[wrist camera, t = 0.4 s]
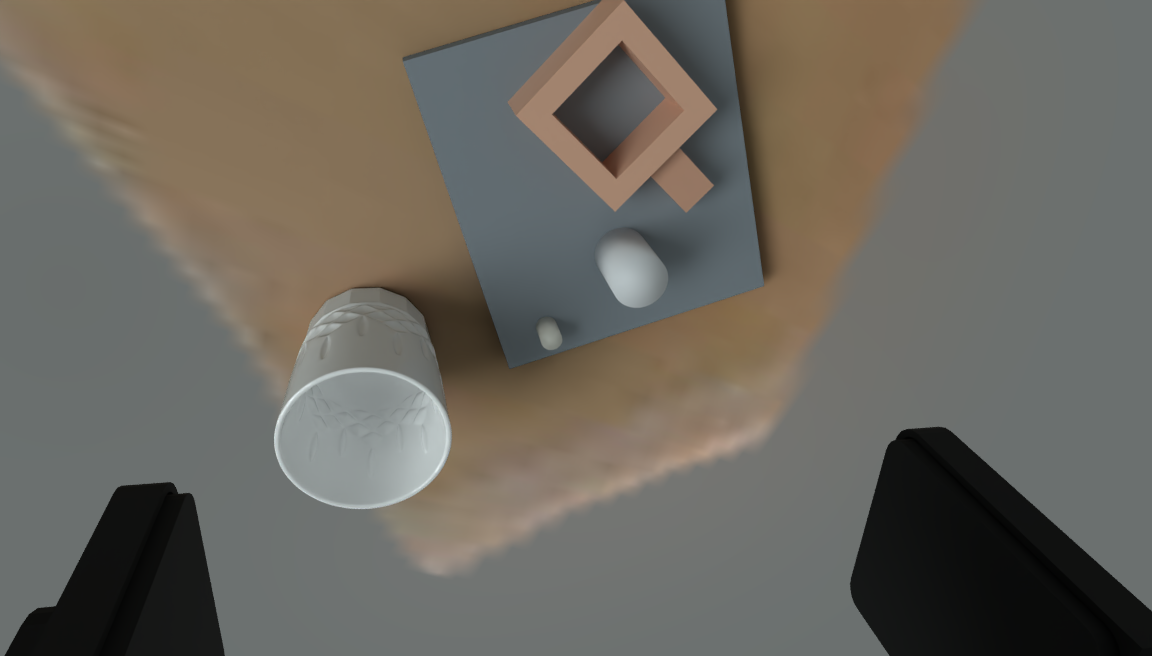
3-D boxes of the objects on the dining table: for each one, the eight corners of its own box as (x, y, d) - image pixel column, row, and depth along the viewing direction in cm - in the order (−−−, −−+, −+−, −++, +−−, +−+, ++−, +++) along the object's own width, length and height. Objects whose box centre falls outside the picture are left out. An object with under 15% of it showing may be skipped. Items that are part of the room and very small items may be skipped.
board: (402, 57, 38) (404, 76, 34) (711, -35, 39) (753, -28, 35) (506, 358, 47) (519, 406, 43) (756, 277, 48) (794, 315, 44)
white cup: (462, 306, 45) (479, 400, 36) (407, 414, 47) (411, 526, 39) (327, 254, 42) (311, 344, 33) (276, 373, 44) (249, 484, 36)
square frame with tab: (734, 141, 42) (757, 156, 40) (641, 232, 44) (657, 252, 41) (607, -7, 38) (623, 0, 35) (507, 102, 39) (516, 115, 36)
